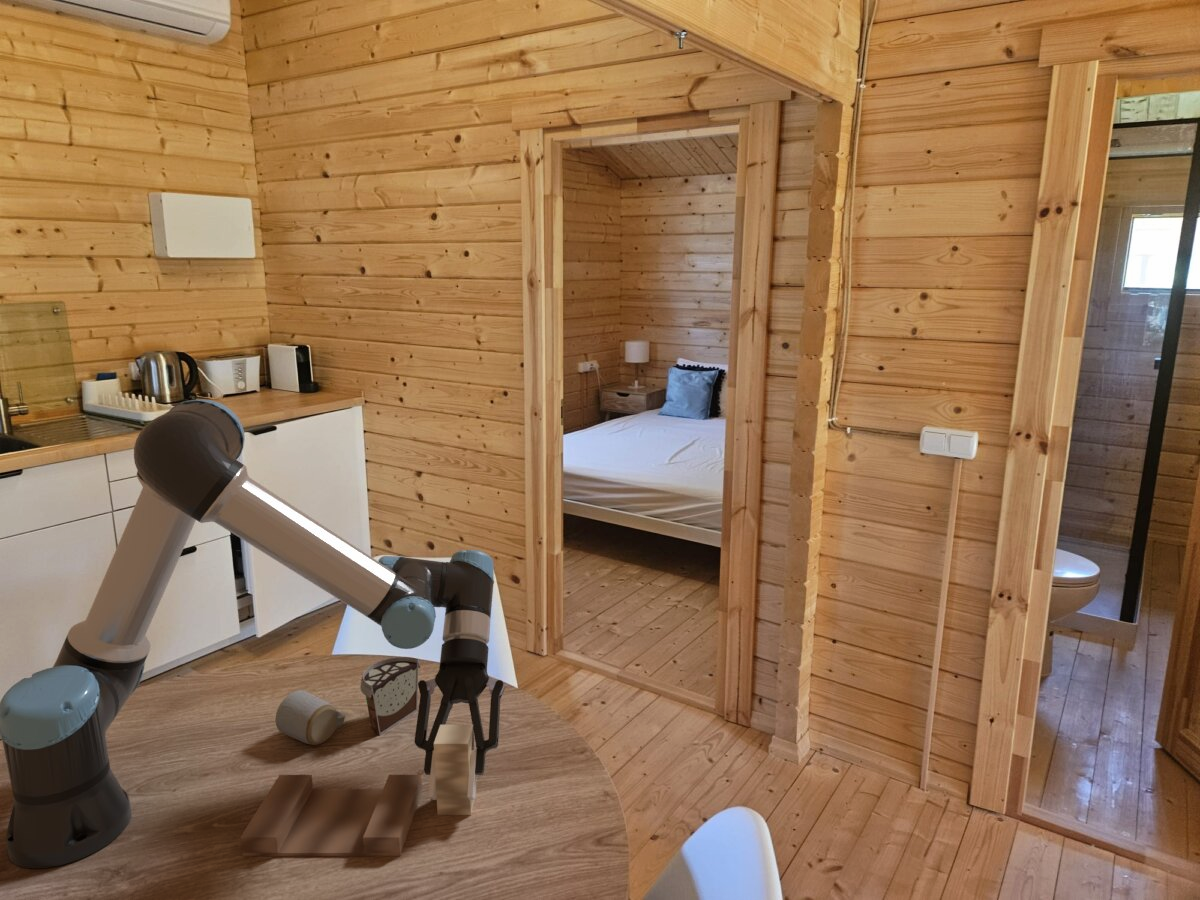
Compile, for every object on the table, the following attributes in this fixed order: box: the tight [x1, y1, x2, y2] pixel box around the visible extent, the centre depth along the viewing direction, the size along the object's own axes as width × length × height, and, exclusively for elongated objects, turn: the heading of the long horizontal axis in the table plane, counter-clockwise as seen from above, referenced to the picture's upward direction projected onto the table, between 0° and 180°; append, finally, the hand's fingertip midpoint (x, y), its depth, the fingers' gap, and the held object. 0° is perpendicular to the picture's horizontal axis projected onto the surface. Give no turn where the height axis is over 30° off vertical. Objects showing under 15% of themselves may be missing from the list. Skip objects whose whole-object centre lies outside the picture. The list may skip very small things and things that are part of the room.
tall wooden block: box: [434, 724, 477, 816], centre depth 122 cm, size 5×5×12 cm
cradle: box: [240, 774, 423, 857], centre depth 119 cm, size 22×14×3 cm, turn 90°
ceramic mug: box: [275, 689, 346, 746], centre depth 141 cm, size 11×8×8 cm
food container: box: [359, 656, 421, 736], centre depth 145 cm, size 12×6×10 cm, turn 149°
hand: (451, 798), depth 118 cm, fingers closed on tall wooden block, 5 cm apart
